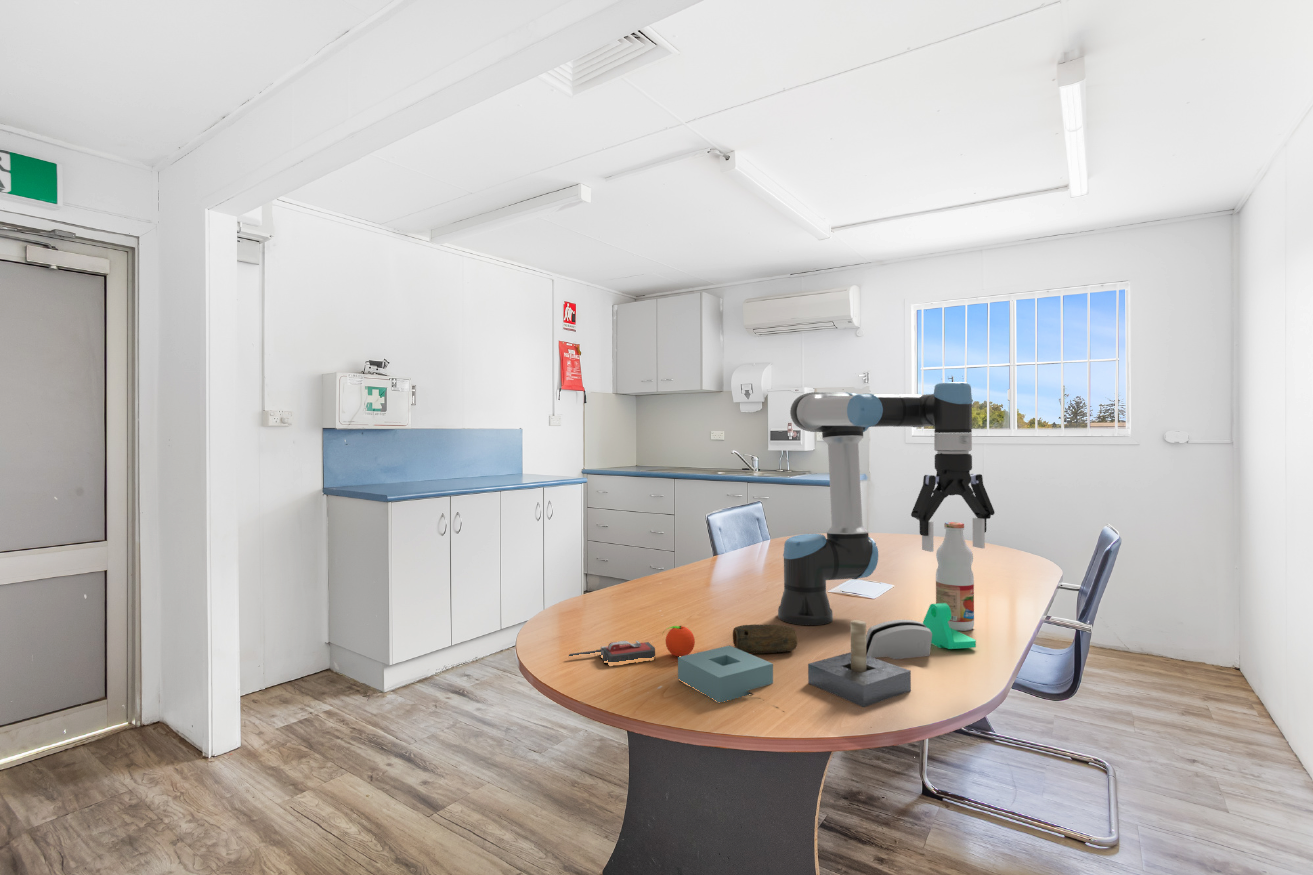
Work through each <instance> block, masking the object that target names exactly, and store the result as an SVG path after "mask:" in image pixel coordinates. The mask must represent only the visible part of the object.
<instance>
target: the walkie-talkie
mask: <svg viewBox="0 0 1313 875" xmlns="http://www.w3.org/2000/svg"><path fill="white" fill-rule="evenodd" d="M595 652H601V655H603V659H602V661H603V660H604V661H607V660H608V662H619V661H626V660H634V659H638V658H652V657H654V656H655V657H656V647H655V646H654V645H652V644H651V643H650V641H646V642H640V641H639V640H635V643H631V642H629V641H627V640H620V641H613V642H612V641H611V642H610V643H608V645H606V646H605V645H604V646H600V649H596V650H591V651H590V650H589V651H581V652H573V653H569V654H568V657H569V656H573V655H579V654H590V653H595Z"/></svg>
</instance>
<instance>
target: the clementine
mask: <svg viewBox="0 0 1313 875" xmlns="http://www.w3.org/2000/svg"><path fill="white" fill-rule="evenodd" d="M668 629H669V631H668V632H667V633H666V636H665V647H666V649H667V650H668V652H669V653H670V654H671V655H673V656H674V655H675V656H674V657H678V656H685V655H690V654H692V653H691V652H693V649H694V648H695V644H696V641H695V640H696V638H695V636H694V634H693V632H692V631H691V630H690V629H689V628H688V627H686V626H684V625H674V626H670V627H667V628H666V630H668ZM664 633H665V631H663V632H662V636H663V634H664Z"/></svg>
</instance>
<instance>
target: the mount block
mask: <svg viewBox="0 0 1313 875" xmlns="http://www.w3.org/2000/svg"><path fill="white" fill-rule="evenodd" d="M807 666H808V668H807V670H808V671H807V676H808V678H807V683H808V685H811V686H814V687H816V688H818V689H821V690H823V691H824V692H828V693H830V694H832V695H834V696H836V697H839V698H842V699H843V700H846V701H848V702H851V703H853V704H856V705H857V706H860V707H862V708H866V707H868V706H871V705H874V704H877V703H881V702H883V701H886V700H889V699H891V698H895V697H897V696H900V695H903V694H906V693H909V692H911V691H912V690H911V687H912V682H911V680H912V678H911V677H912V676H911V675H912V674H911V670H910V669H907V668H904V667H902V666H899V665H895V664H892V663H889V662H887V661H884V660H881V659H878V658H872V657H870V656H867V655H866V672H862V673H859V672H856V671H853V670H851V651H850V652H846V653H843V654H839V655H835V656H832V657H828V658H824V659H821V660H816V661H813V662H810V663H808V665H807Z"/></svg>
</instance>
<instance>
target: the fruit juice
mask: <svg viewBox="0 0 1313 875" xmlns="http://www.w3.org/2000/svg"><path fill="white" fill-rule="evenodd" d="M944 530H945V534H944V535H945V536H944V538H943V541H942V543H941V544H940V545H939V546H938V548H937V550H936V552H935V553H936V555H935V556H936V561H937V568H936V572H935V604H938V603H946V604H947V605H948V606H949V607H950V610H951V619H950V620H949V621H948V624H949V627H950V628H952V629H954V630H956V631H958V632H961V631H962V632H964V631H965V632H967V631H971V630H973V629H974V626H975V580H974V579H975V577H974V572H973V570H972V564H973V561H974V554H973V551H972V550H971V548H970V547H969V546H968V545H967V543H966V540H965V537H964V530H965V523H963V522H956V521H953V522H952V521H950V522H949V521H946V522H944Z"/></svg>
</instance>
